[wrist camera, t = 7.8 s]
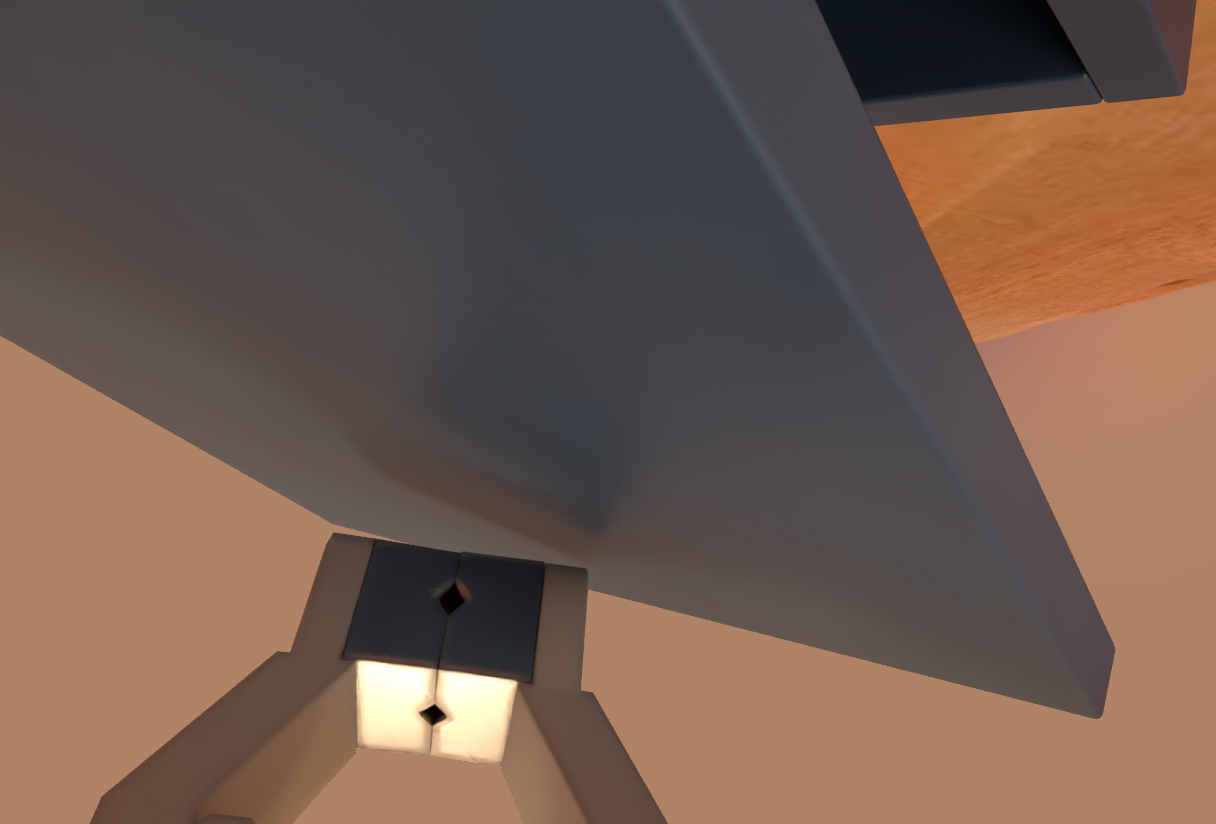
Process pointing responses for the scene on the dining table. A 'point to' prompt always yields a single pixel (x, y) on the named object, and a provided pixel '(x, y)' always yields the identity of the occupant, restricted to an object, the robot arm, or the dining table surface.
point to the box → (1008, 54)
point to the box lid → (543, 305)
